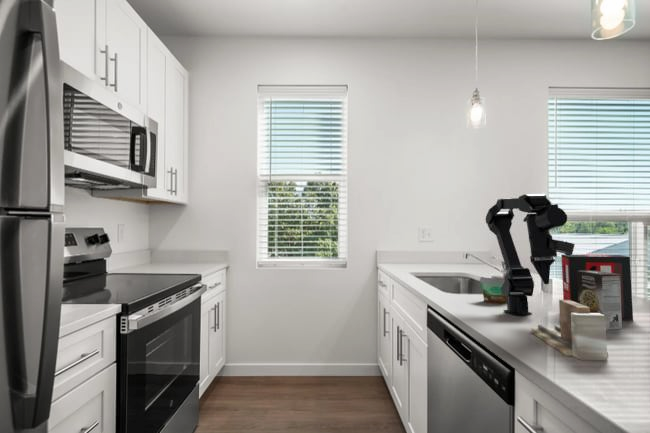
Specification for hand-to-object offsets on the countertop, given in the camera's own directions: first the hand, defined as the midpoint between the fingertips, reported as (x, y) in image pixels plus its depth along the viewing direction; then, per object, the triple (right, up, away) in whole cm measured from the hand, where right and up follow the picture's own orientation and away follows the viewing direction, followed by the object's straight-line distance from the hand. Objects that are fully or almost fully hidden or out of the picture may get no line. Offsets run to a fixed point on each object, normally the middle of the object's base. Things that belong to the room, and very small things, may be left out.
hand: (546, 284), depth 108 cm
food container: (+3, -14, +36) cm, 39 cm away
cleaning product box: (+24, -13, +12) cm, 30 cm away
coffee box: (+16, -13, 0) cm, 21 cm away
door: (-5, -11, -20) cm, 23 cm away
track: (-4, -12, -16) cm, 21 cm away
